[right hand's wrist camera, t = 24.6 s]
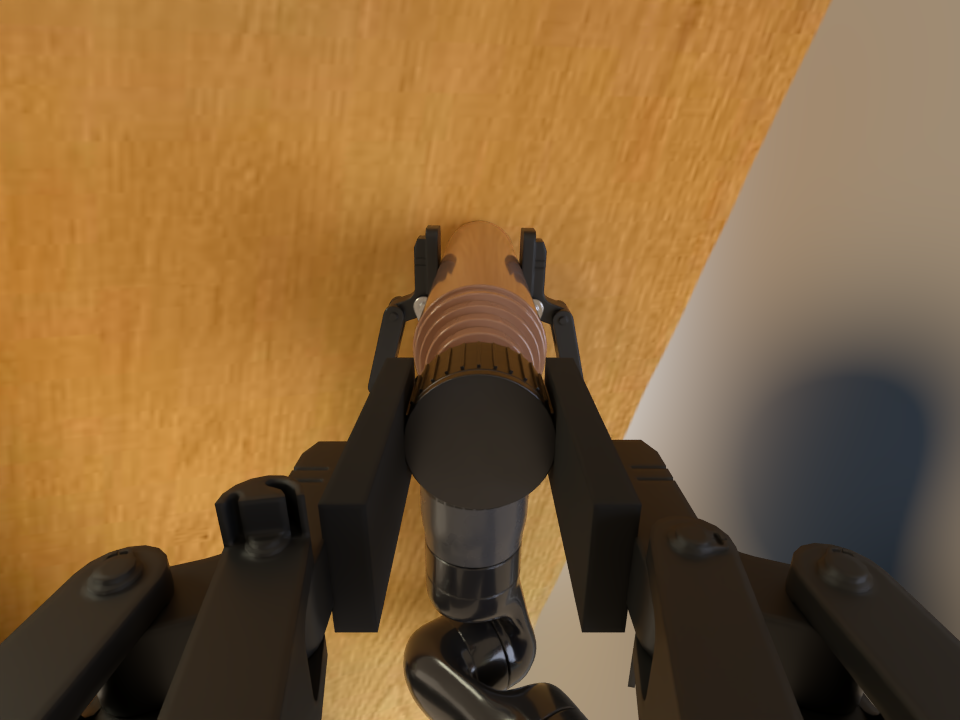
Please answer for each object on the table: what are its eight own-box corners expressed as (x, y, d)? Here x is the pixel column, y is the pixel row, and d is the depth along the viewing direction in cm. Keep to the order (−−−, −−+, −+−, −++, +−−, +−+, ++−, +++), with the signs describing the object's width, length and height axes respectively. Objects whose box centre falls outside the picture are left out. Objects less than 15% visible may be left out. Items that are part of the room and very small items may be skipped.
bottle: (502, 211, 36) (546, 313, 12) (521, 277, 38) (593, 479, 14) (436, 233, 36) (355, 371, 13) (458, 297, 38) (423, 525, 14)
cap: (451, 314, 14) (446, 342, 12) (574, 379, 14) (591, 418, 12) (388, 427, 15) (373, 471, 13) (504, 482, 16) (508, 534, 13)
